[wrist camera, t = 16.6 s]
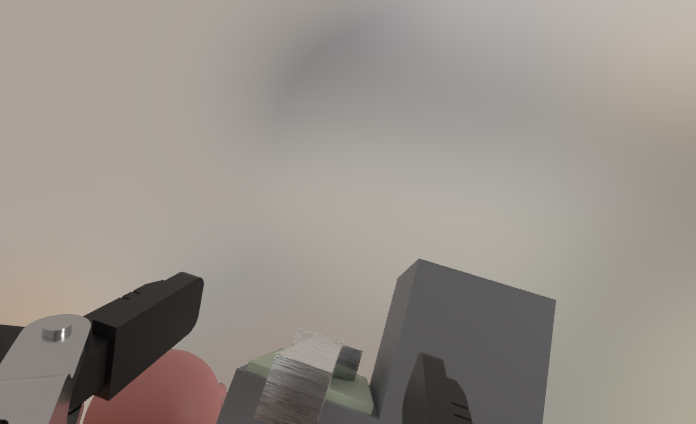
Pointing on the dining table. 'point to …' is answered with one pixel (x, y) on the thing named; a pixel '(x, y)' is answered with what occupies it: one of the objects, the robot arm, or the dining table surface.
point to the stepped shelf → (436, 353)
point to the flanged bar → (305, 378)
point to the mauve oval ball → (164, 395)
